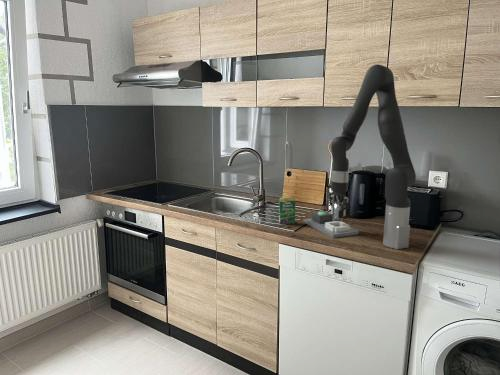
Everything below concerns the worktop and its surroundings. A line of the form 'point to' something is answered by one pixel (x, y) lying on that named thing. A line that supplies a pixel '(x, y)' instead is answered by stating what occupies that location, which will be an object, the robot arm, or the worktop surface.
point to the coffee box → (287, 210)
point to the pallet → (330, 225)
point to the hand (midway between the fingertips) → (337, 216)
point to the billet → (336, 213)
